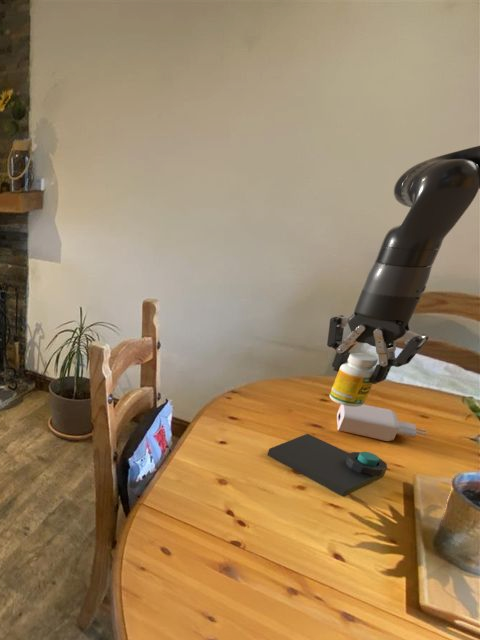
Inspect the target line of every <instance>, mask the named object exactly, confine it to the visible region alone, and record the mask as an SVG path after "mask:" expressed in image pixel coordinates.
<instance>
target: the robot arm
mask: <svg viewBox="0 0 480 640" xmlns="http://www.w3.org/2000/svg"><path fill="white" fill-rule="evenodd" d="M479 190H480V145H476V146H472V147H468V148H465V149H461V150H457V151H453V152H448V153H446V154H442V155H439V156H436V157H435V156H434V157H432V158H429V159H426V160H424V161H421V162H419V163H417V164H415V165H413V166H412V167H410V168H408V169H407V170H406V171H405V172H403V173H402V175H400V176H399V178H397V181H396V183H395V184H394V187H393V196H394V199H395V200H396V201H397V202H398V203H399V204H400V205H402V206H404V207H408V208H410V209H409V211H408V212H407V214H406V215H405V217H404V219H403V220H402V223H401V224H399V225H396V226H393V227H391V228H390V229H389V230H388V231H387V233H386V234H385V236H384V237H383V240H382V243H381V245H380V248H379V249H378V253H377V255H376V258H375V261H374V263H373V265H372V266H371V269H369V272H368V273H367V276H366V279H365V281H364V284H363V287H362V288H361V289H362V290H361V292H360V294H359V298H358V300H357V302H356V305H355V307H354V312H353V314H351V316H345V315H344V314H343V315H341V314H340V315H336V316H333V317H331V318H329V326H328V335H327V343H326V345H327V347H328V348H332V349H333V350H335V352H336V353H335V355H334V359H333V361H332V363H331V366H332V368H333V371H334V372H336V373H338V372H339V369H340V367H341V365H342V364H344V363H347V362H348V358H349V355H350V354H351V352H350V351H351V350H353V349H354V347H356V346H357V345H358V344H359V343H360V344H368V345H369V346H371V347H374V348H375V352H376V354H377V356H378V357H377V358H378V364H376V365H375V366H374V368H375V370H374V372H373V374H372V377H371V379H370V381H369V382H370V383H372V385H376V384H378V383H381V382H384V381H385V380H387V377H388V375H389V373H390V371H391V368H392V367H395V368H399V367H402V366H405V365H408V364H410V362H411V361H412V360H413V358H414V357H415V356H416V355H417V354H418V353H419V351H420V350H421V349H422V348H423V346H424V345H425V344H426V343H427V342H428V340H429V335H427V334H424V333H423V334H418V333H417V332H413V331H411V330H410V326H409V324H410V321H411V319H412V317H413V315H414V313H415V311H416V308H417V306H418V304H419V301H420V299H421V296H422V294H423V293H424V292H425V290H426V288H427V284H428V281H429V278H430V276H431V271H432V268H433V265H434V263H435V262H436V261H435V260H436V258H437V257H438V254H439V252H440V249H441V247H442V244H443V241H444V239H445V238H446V237H447V235H448V234H449V233H450V232H451V230H453V228H454V227H455V226H456V224H457V223H458V222H459V220H460V219H461V218H462V216H463V215H464V214H465V212H466V211H467V210H468V209H469V207H470V206H471V204H472V203H473V202H474V199H475V198H476V196H477V194H478V192H479ZM347 326H348V327H349V330H350V332H351V333H349V335H348V336H347V337H346V338H344V331H345V330H344V329H345V328H346V327H347ZM401 338H404V341H403V344H404V345H405V346H404V348H402V350H401V351H400V352H399V354H398V355H397V356H396V351H397V345H396V341H397V340H399V339H401ZM343 339H344V340H343Z"/></svg>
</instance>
